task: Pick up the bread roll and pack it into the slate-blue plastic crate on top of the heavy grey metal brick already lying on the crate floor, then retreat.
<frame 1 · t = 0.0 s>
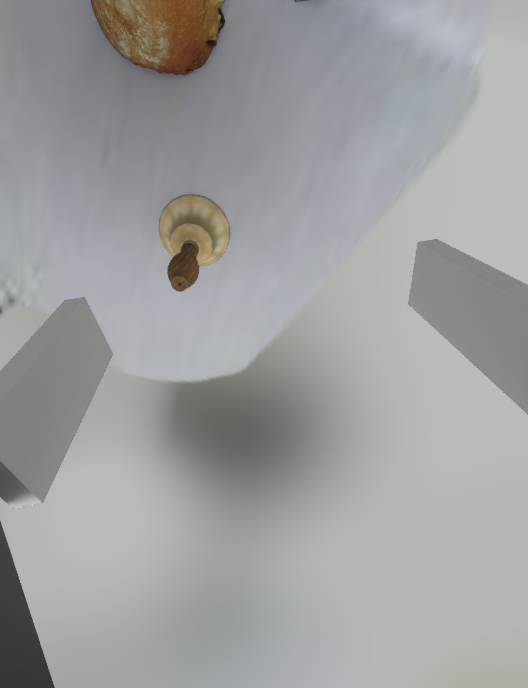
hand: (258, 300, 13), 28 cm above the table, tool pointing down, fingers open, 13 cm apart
bread roll: (163, 5, 27), on the table
hand bell: (195, 231, 38), on the table
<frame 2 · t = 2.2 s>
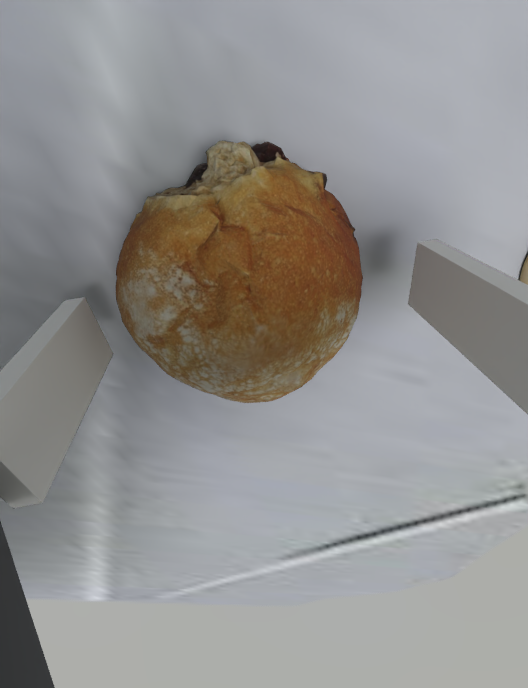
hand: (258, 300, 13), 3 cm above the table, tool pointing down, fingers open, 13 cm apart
bread roll: (240, 269, 15), on the table
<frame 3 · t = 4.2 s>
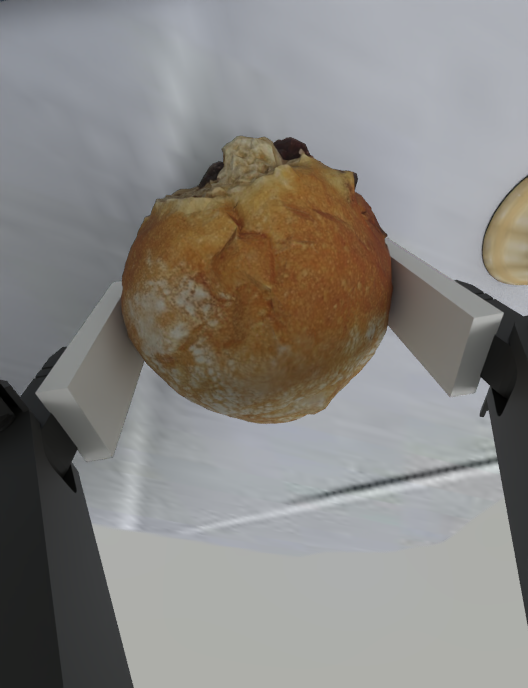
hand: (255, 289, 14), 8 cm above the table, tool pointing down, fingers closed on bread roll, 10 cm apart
bread roll: (256, 276, 14), point 7 cm above the table, touching gripper
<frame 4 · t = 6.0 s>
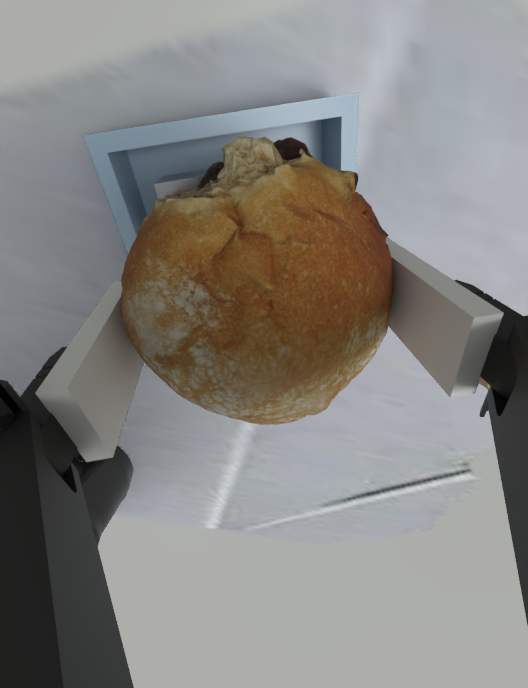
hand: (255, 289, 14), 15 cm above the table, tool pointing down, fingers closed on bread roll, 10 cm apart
crate: (237, 212, 26), on the table
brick: (237, 214, 25), point 1 cm above the table, touching crate
bread roll: (256, 276, 14), point 15 cm above the table, touching gripper
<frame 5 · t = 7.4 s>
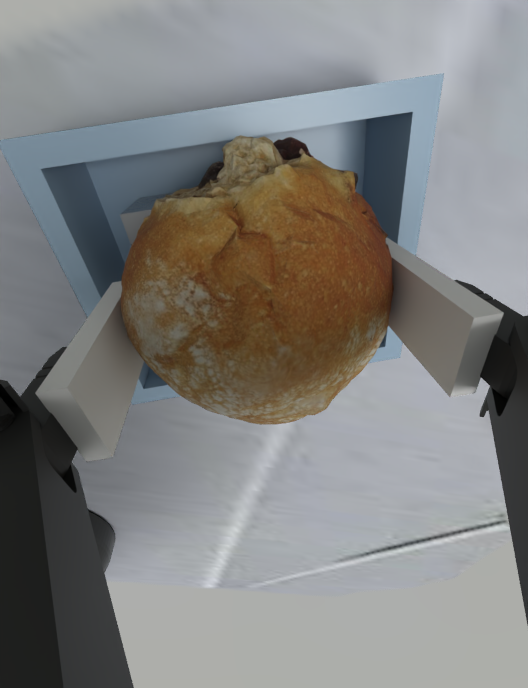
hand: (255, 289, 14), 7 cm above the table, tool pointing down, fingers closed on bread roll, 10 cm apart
crate: (243, 243, 19), on the table
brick: (244, 248, 19), point 1 cm above the table, touching crate
bread roll: (256, 276, 14), point 6 cm above the table, touching gripper
when the fingers open (6 cm above the table, at t = 8.1 s): bread roll stays where it is, resting on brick.
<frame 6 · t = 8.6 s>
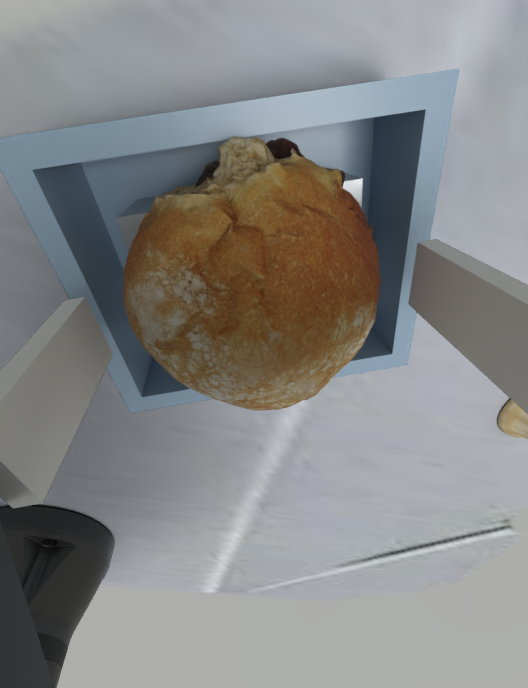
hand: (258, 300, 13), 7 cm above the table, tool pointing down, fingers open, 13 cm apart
crate: (245, 246, 19), on the table
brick: (247, 251, 18), point 1 cm above the table, touching bread roll, crate
bread roll: (251, 270, 15), point 5 cm above the table, touching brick
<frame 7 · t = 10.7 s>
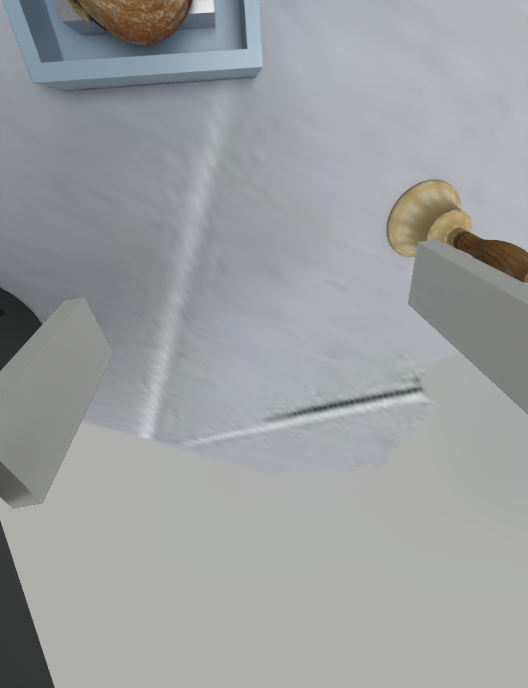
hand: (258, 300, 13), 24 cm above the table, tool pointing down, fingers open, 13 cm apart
hand bell: (421, 220, 36), on the table
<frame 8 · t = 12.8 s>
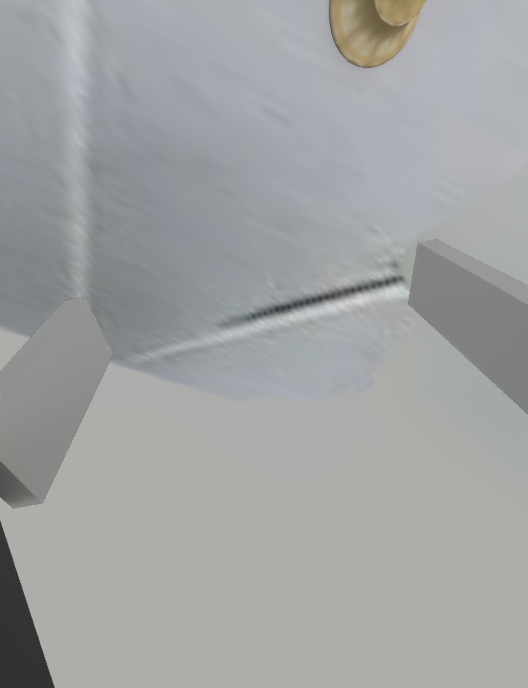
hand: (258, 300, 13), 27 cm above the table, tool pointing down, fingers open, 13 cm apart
hand bell: (374, 6, 28), on the table
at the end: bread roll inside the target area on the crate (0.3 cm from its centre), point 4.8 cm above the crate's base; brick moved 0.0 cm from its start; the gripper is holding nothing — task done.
